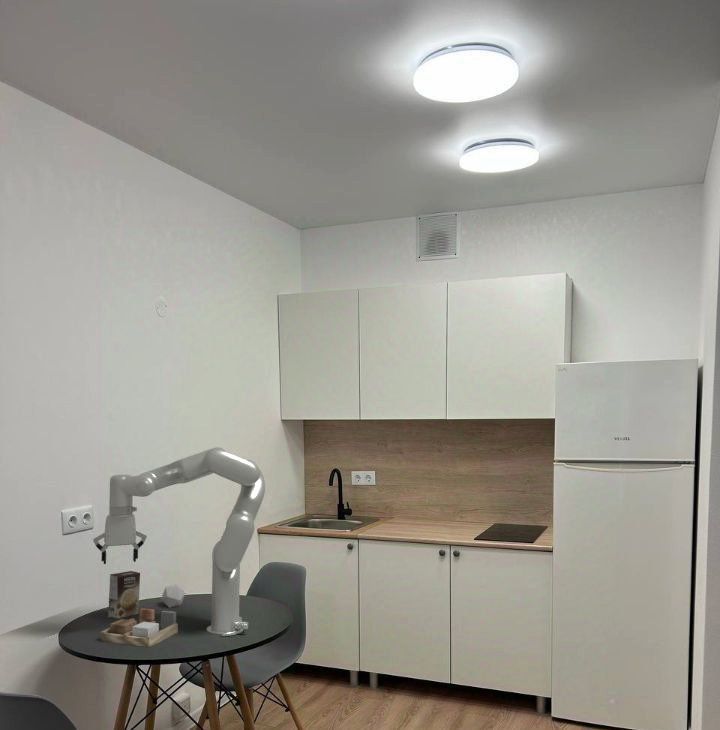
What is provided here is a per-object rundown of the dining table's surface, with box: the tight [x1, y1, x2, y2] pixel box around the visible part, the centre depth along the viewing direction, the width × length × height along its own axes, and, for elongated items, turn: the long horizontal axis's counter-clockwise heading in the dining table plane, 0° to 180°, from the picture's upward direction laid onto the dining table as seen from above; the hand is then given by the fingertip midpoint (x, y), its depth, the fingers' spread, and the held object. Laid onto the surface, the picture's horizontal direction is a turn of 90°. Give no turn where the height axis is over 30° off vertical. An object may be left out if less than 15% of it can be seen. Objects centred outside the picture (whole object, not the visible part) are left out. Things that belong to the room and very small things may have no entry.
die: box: [160, 583, 186, 609], centre depth 276 cm, size 8×9×10 cm
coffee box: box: [107, 570, 141, 619], centre depth 260 cm, size 9×6×16 cm
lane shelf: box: [100, 618, 179, 648], centre depth 236 cm, size 19×23×4 cm
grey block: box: [132, 610, 177, 638], centre depth 234 cm, size 6×17×6 cm, turn 161°
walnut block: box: [109, 607, 156, 635], centre depth 237 cm, size 6×17×6 cm, turn 161°
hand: (119, 562), depth 237 cm, fingers open, 9 cm apart
